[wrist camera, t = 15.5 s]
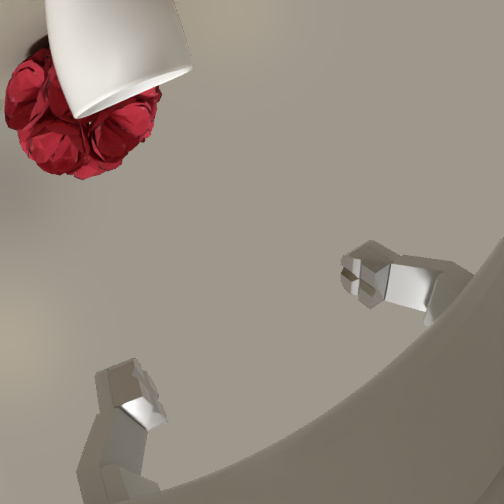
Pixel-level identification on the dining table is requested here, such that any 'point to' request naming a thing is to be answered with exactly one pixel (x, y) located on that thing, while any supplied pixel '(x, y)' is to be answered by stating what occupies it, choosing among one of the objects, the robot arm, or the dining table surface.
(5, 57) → the dining table surface
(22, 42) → the dining table surface
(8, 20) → the dining table surface
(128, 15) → the white tumbler
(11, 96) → the bouquet
